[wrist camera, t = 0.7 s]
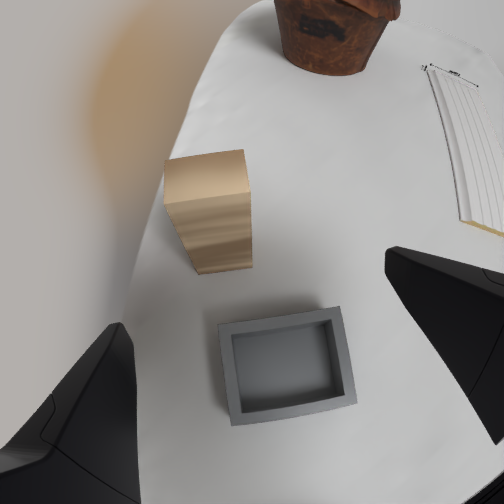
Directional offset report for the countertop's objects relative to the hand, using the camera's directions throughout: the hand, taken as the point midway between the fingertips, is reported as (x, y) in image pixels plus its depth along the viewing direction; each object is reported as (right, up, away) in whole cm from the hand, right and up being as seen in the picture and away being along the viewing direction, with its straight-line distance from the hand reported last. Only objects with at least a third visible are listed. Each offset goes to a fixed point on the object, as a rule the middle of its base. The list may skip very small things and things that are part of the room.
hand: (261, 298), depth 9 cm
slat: (-3, +1, +17) cm, 17 cm away
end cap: (+2, -7, +13) cm, 15 cm away
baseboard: (+30, +17, +24) cm, 42 cm away
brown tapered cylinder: (+11, +32, +30) cm, 45 cm away
